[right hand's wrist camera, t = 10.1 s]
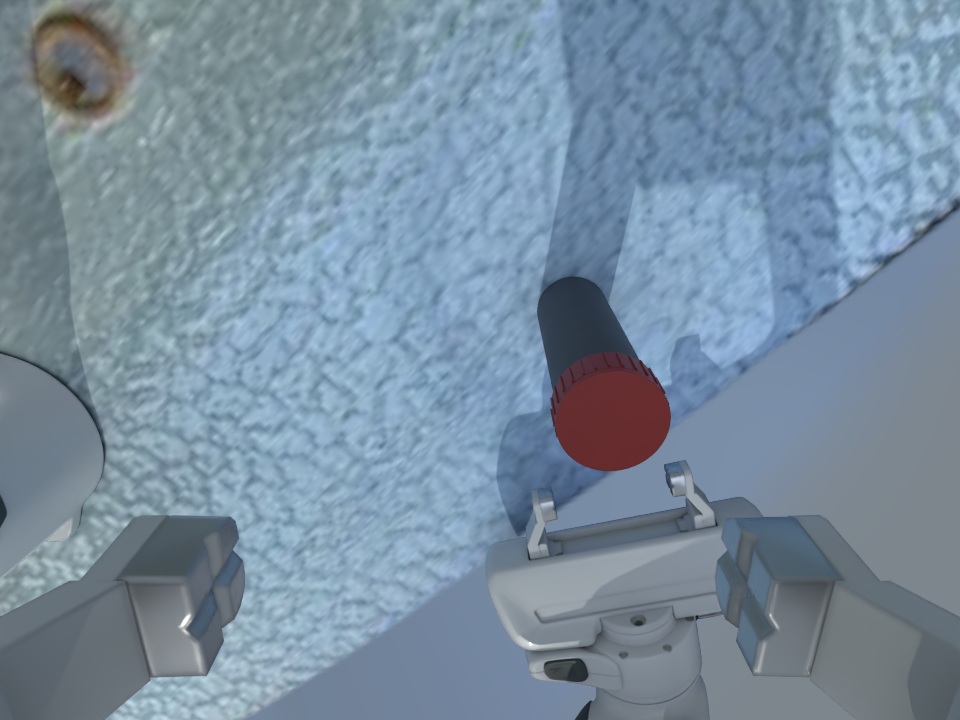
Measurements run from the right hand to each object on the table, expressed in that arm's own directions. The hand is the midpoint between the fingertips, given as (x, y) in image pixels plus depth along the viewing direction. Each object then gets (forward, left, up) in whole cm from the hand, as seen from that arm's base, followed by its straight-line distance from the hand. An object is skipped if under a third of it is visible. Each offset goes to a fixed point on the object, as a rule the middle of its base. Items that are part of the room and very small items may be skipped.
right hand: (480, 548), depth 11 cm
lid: (0, +9, -17) cm, 20 cm away
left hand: (+4, +19, -28) cm, 34 cm away
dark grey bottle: (0, +9, -33) cm, 34 cm away
